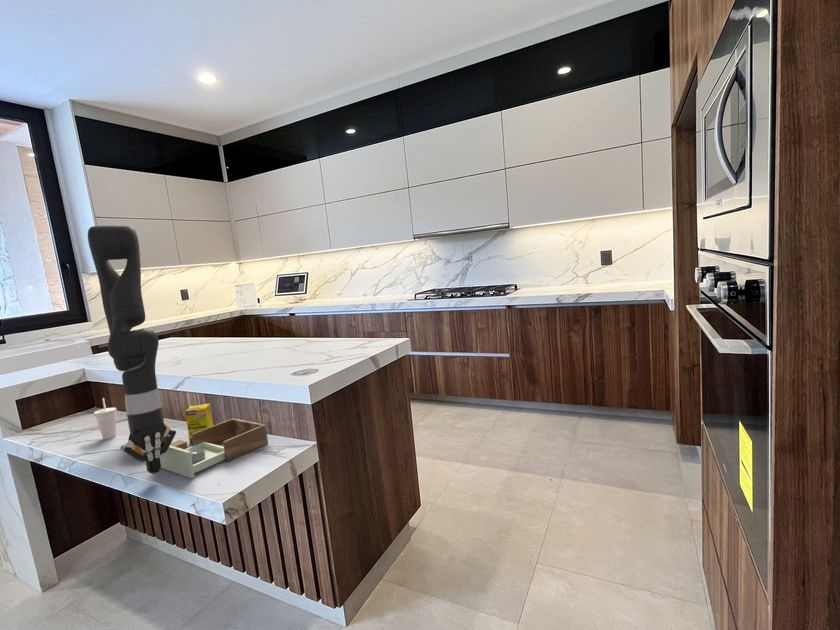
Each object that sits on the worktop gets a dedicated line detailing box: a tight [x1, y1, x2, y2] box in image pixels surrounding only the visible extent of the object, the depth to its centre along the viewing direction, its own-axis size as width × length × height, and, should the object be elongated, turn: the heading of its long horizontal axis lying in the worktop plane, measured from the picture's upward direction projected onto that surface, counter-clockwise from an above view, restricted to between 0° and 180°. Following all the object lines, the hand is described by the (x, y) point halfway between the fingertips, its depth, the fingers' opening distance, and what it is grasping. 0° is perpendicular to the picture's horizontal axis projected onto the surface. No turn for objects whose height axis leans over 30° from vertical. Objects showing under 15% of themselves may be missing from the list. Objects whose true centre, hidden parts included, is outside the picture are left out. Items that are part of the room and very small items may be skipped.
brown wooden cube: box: [170, 439, 189, 450], centre depth 125 cm, size 4×4×4 cm
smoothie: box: [93, 397, 118, 440], centre depth 147 cm, size 6×6×14 cm
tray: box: [160, 442, 225, 479], centre depth 119 cm, size 17×13×7 cm
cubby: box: [192, 418, 269, 463], centre depth 128 cm, size 17×14×6 cm
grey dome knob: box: [188, 448, 206, 465], centre depth 118 cm, size 6×6×2 cm
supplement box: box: [185, 403, 214, 445], centre depth 137 cm, size 6×6×11 cm
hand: (154, 472), depth 109 cm, fingers closed
